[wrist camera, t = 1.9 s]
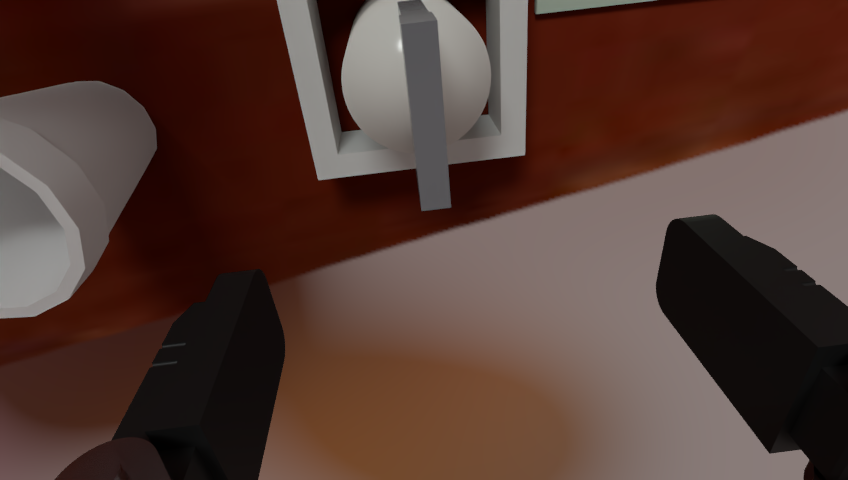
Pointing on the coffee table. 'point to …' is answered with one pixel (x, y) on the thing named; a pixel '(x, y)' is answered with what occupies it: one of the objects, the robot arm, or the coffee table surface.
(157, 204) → the coffee table surface
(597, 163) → the coffee table surface
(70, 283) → the foam cup
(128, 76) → the coffee table surface
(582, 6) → the mat
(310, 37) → the frame
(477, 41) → the egg with flat handle
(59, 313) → the coffee table surface
